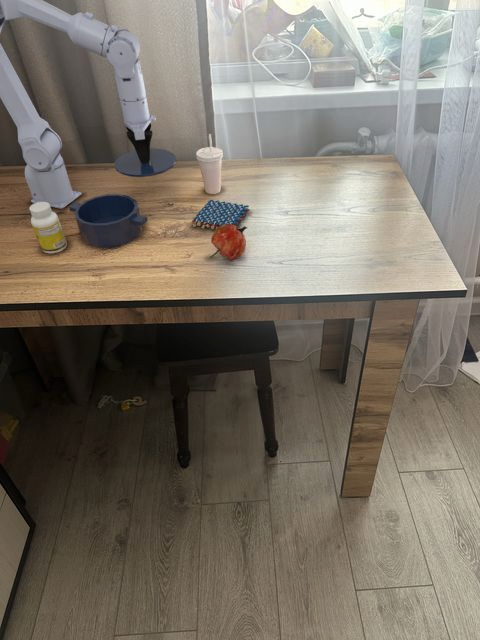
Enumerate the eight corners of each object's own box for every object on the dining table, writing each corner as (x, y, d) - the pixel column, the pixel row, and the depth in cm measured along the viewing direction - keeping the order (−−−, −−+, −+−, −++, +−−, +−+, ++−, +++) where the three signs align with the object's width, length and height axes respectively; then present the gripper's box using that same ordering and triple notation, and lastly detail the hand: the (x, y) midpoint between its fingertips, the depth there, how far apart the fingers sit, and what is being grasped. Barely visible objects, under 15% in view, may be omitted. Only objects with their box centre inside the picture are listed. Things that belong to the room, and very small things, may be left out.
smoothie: (222, 197, 124) (217, 140, 114) (197, 195, 125) (190, 138, 115) (228, 185, 128) (224, 129, 118) (204, 183, 129) (198, 127, 119)
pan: (131, 255, 107) (125, 232, 103) (59, 238, 112) (51, 216, 108) (163, 223, 115) (159, 201, 112) (95, 209, 121) (89, 188, 117)
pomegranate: (219, 277, 104) (257, 250, 100) (195, 252, 100) (232, 222, 96) (222, 260, 110) (258, 234, 106) (199, 235, 106) (235, 207, 102)
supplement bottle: (44, 241, 111) (29, 200, 104) (69, 239, 111) (55, 198, 105) (39, 255, 107) (22, 213, 100) (65, 253, 108) (50, 211, 101)
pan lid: (156, 183, 113) (153, 164, 110) (103, 174, 117) (98, 155, 114) (187, 157, 122) (185, 139, 119) (136, 149, 126) (133, 131, 123)
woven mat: (209, 205, 121) (208, 197, 120) (250, 211, 118) (250, 203, 117) (190, 227, 114) (189, 219, 113) (234, 234, 111) (233, 226, 110)
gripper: (153, 106, 104) (164, 170, 114) (149, 84, 114) (159, 144, 124) (119, 110, 103) (132, 174, 113) (117, 88, 113) (130, 148, 123)
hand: (144, 159), depth 118 cm, fingers closed on pan lid, 2 cm apart
